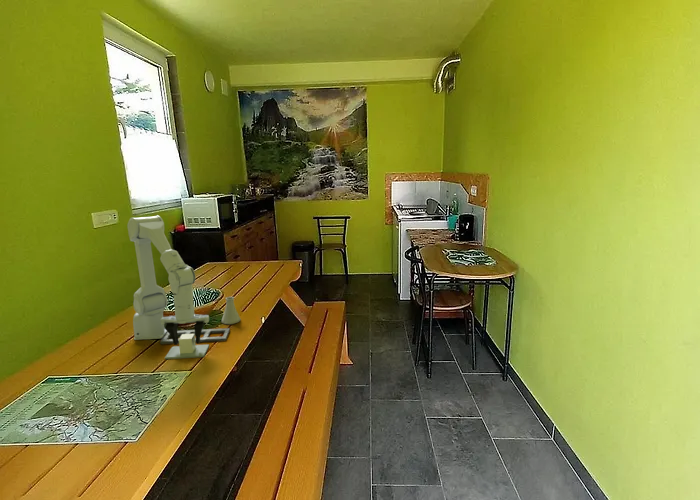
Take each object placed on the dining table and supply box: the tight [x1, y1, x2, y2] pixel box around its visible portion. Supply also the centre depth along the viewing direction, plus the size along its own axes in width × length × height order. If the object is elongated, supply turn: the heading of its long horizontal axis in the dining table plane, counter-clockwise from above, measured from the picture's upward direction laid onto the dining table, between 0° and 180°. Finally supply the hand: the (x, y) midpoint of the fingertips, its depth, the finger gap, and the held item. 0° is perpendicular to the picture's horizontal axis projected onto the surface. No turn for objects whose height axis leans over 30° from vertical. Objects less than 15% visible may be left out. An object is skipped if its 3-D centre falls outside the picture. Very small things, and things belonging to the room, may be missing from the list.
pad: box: [164, 344, 210, 360], centre depth 125 cm, size 12×8×1 cm, turn 99°
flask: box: [220, 296, 242, 325], centre depth 151 cm, size 7×7×10 cm
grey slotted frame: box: [159, 327, 231, 345], centre depth 137 cm, size 22×9×1 cm, turn 99°
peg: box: [178, 334, 197, 353], centre depth 125 cm, size 4×4×5 cm
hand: (187, 343), depth 125 cm, fingers open, 6 cm apart
